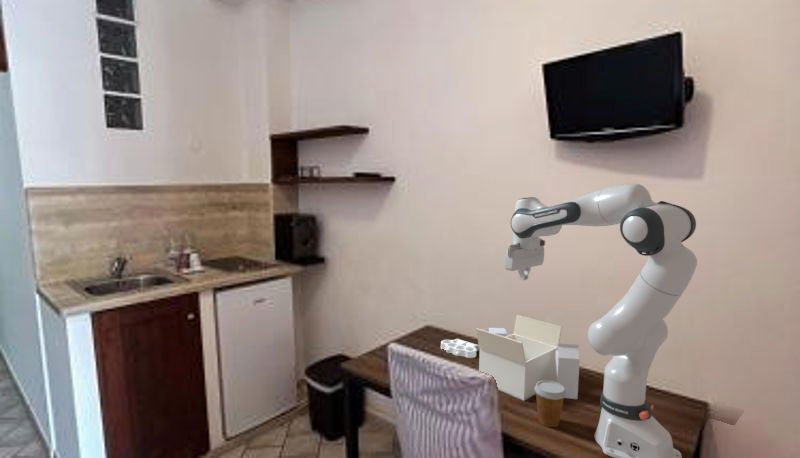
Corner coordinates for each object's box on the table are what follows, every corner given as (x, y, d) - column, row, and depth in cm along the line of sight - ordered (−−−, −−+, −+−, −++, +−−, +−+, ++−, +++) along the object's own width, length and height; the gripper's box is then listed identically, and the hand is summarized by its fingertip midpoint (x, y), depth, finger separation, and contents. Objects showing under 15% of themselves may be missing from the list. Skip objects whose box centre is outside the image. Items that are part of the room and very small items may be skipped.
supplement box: (504, 355, 198) (505, 327, 197) (506, 362, 191) (507, 333, 189) (487, 354, 199) (488, 327, 197) (489, 361, 192) (490, 332, 190)
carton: (556, 382, 172) (557, 347, 170) (523, 400, 157) (525, 362, 156) (511, 366, 187) (513, 333, 185) (478, 381, 172) (479, 346, 171)
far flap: (557, 347, 171) (558, 347, 171) (561, 326, 171) (562, 326, 171) (513, 333, 185) (514, 333, 186) (516, 314, 186) (517, 314, 186)
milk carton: (577, 399, 159) (580, 348, 157) (556, 397, 160) (559, 346, 158) (573, 390, 166) (576, 341, 164) (553, 388, 167) (556, 339, 165)
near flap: (522, 342, 154) (521, 343, 153) (525, 362, 156) (524, 363, 156) (477, 328, 168) (476, 328, 168) (479, 346, 171) (478, 347, 170)
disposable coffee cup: (540, 411, 151) (541, 377, 149) (568, 421, 144) (570, 385, 143) (528, 423, 143) (529, 387, 142) (557, 433, 137) (559, 396, 136)
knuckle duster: (485, 352, 203) (467, 361, 192) (453, 342, 215) (434, 350, 204) (486, 345, 202) (467, 354, 192) (453, 335, 214) (434, 343, 204)
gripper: (516, 245, 153) (514, 285, 154) (548, 240, 166) (546, 277, 168) (500, 243, 157) (499, 282, 159) (532, 239, 171) (531, 274, 172)
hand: (523, 279), depth 163 cm, fingers closed
